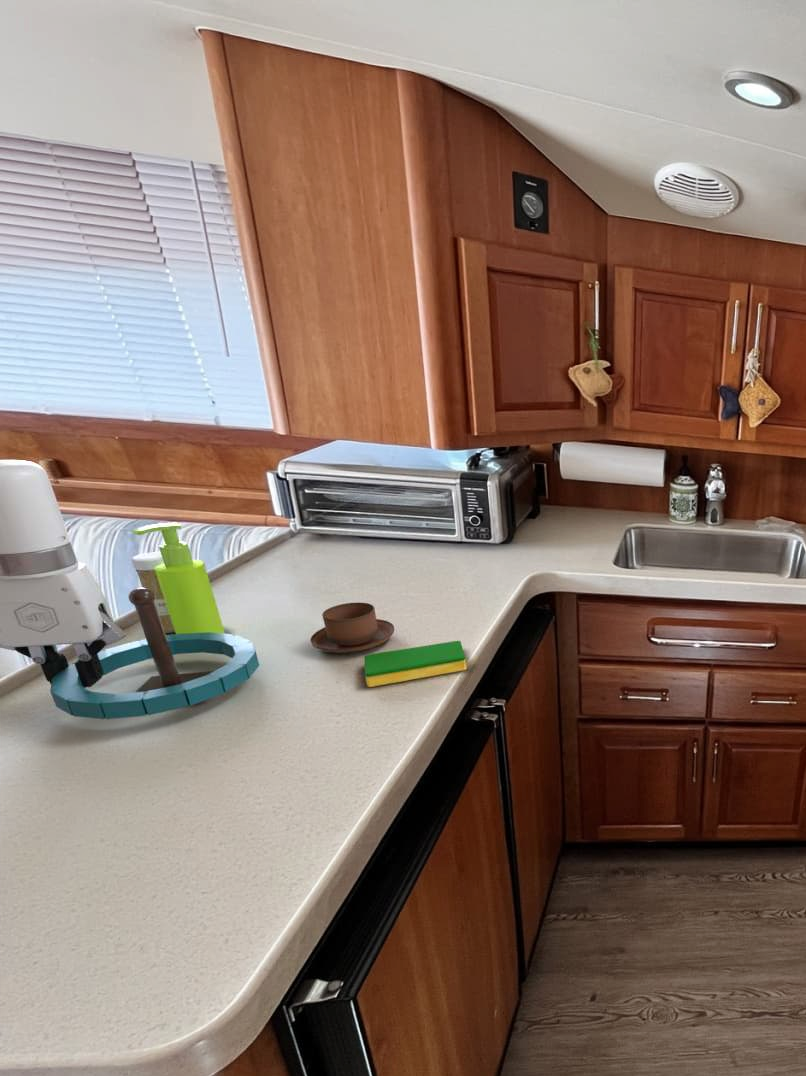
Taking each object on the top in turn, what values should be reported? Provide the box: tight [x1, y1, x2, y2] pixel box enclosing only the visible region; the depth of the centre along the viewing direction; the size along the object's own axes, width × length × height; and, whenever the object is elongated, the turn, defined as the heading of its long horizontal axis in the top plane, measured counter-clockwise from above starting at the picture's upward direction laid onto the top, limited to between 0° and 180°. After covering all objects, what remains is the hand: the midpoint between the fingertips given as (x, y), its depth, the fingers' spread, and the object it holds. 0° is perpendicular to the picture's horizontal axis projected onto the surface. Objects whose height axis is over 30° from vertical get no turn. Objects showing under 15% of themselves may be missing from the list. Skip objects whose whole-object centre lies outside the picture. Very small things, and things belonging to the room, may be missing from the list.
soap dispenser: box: [131, 522, 226, 636], centre depth 104 cm, size 6×7×20 cm
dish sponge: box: [364, 640, 468, 688], centre depth 104 cm, size 7×14×2 cm, turn 123°
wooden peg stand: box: [128, 587, 215, 692], centre depth 90 cm, size 8×8×16 cm
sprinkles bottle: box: [131, 551, 176, 634], centre depth 107 cm, size 5×5×14 cm
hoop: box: [49, 632, 260, 720], centre depth 91 cm, size 21×21×2 cm
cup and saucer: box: [310, 602, 395, 654], centre depth 109 cm, size 12×12×6 cm
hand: (78, 682), depth 88 cm, fingers closed on hoop, 2 cm apart
